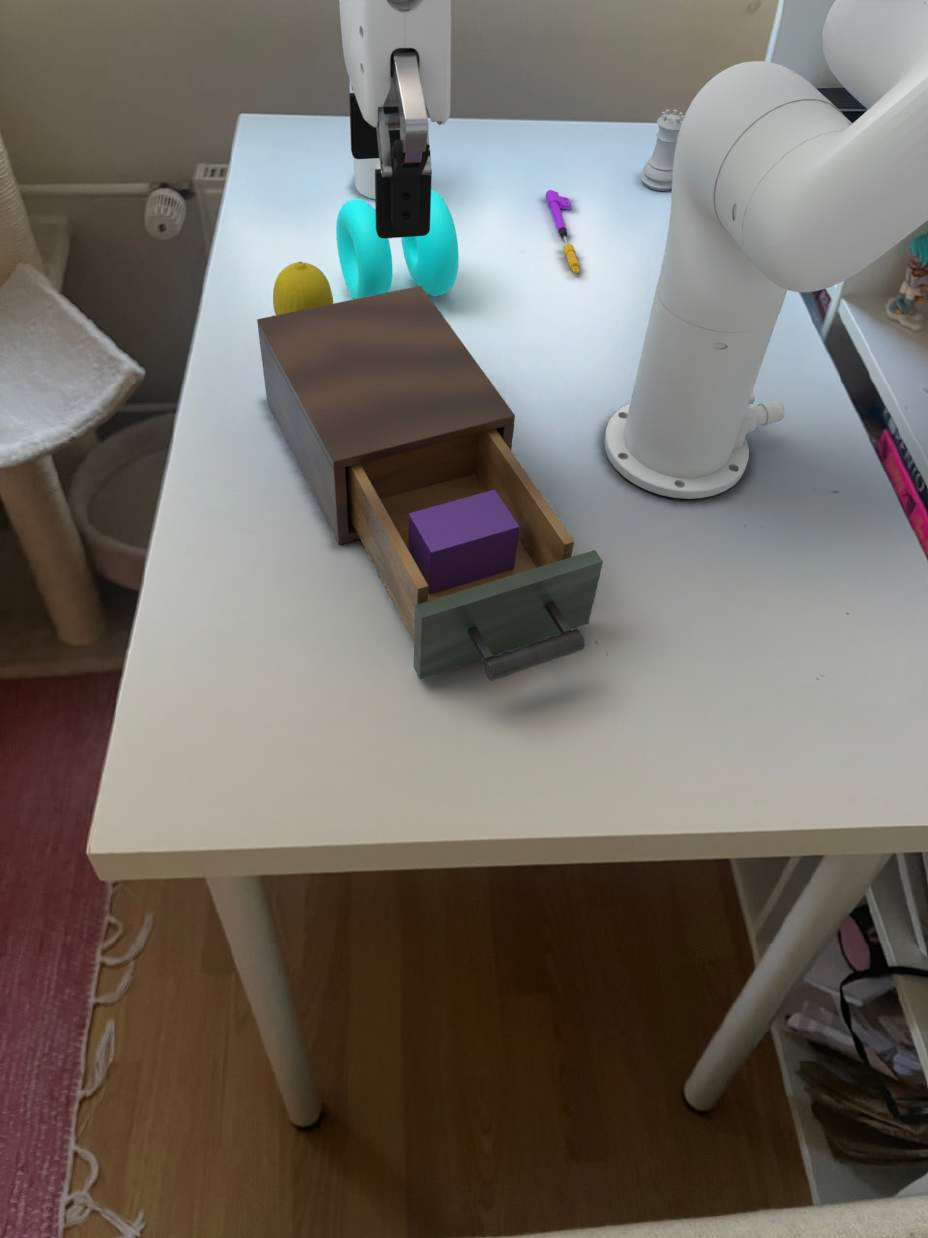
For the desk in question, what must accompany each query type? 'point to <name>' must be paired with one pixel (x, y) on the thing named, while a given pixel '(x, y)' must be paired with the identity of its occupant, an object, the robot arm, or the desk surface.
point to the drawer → (489, 607)
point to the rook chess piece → (663, 153)
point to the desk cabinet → (371, 388)
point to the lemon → (300, 289)
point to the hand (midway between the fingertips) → (388, 193)
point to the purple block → (463, 540)
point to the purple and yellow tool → (562, 225)
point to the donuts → (371, 255)
